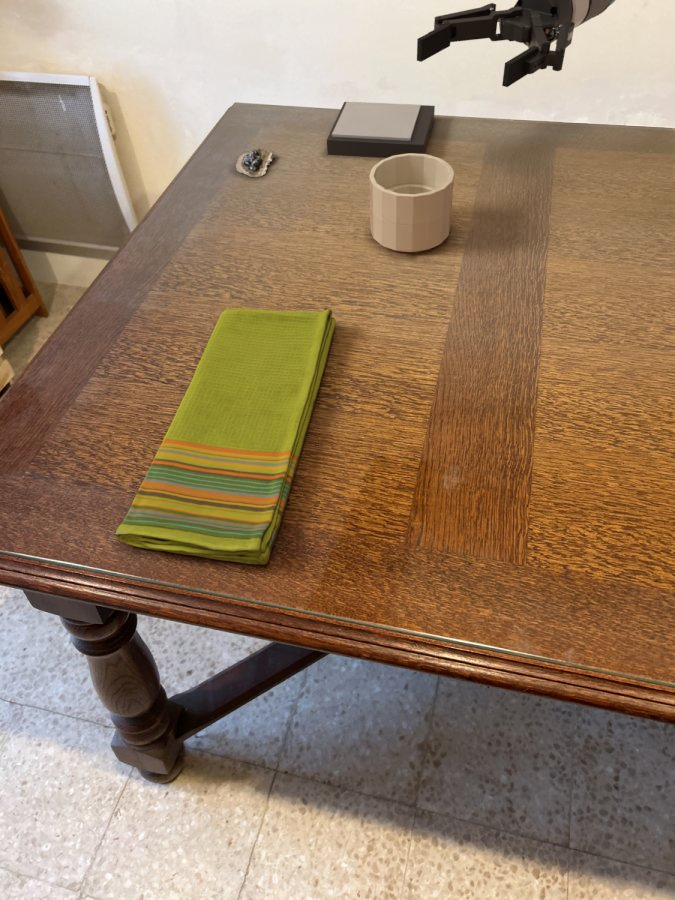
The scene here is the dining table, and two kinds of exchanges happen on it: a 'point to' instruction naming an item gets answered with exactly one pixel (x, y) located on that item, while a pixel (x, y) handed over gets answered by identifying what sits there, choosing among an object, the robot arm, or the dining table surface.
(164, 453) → the dish towel
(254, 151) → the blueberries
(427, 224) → the beige faceted pot
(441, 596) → the dining table surface
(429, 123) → the scale
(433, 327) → the dining table surface
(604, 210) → the dining table surface
